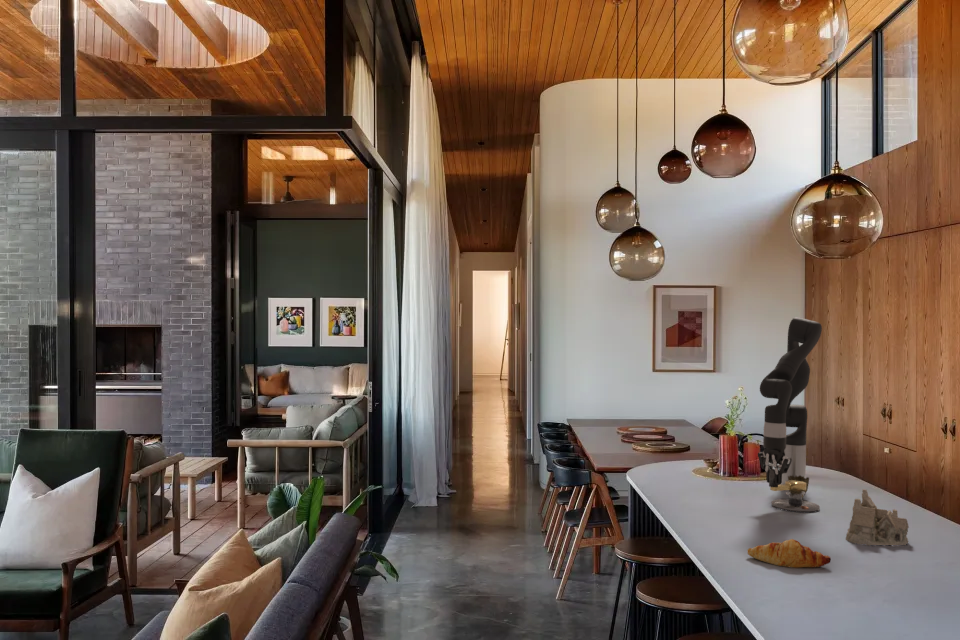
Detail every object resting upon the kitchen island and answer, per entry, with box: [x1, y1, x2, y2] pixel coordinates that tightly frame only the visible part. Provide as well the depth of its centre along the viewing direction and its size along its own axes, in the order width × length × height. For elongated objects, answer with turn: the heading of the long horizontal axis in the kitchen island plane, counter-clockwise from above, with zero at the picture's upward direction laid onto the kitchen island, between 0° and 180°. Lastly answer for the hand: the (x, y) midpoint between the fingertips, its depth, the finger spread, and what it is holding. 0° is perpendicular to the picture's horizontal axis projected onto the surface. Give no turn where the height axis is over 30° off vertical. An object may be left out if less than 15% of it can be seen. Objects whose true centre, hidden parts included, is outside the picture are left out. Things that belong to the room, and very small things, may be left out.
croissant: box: [747, 538, 831, 569], centre depth 208 cm, size 21×10×8 cm, turn 68°
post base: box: [771, 490, 821, 513], centre depth 273 cm, size 16×16×6 cm
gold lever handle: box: [768, 468, 806, 492], centre depth 272 cm, size 15×7×8 cm, turn 111°
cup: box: [788, 475, 810, 499], centre depth 288 cm, size 8×7×8 cm
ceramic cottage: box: [845, 488, 910, 546], centre depth 231 cm, size 16×16×15 cm
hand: (773, 483), depth 270 cm, fingers closed on gold lever handle, 3 cm apart
